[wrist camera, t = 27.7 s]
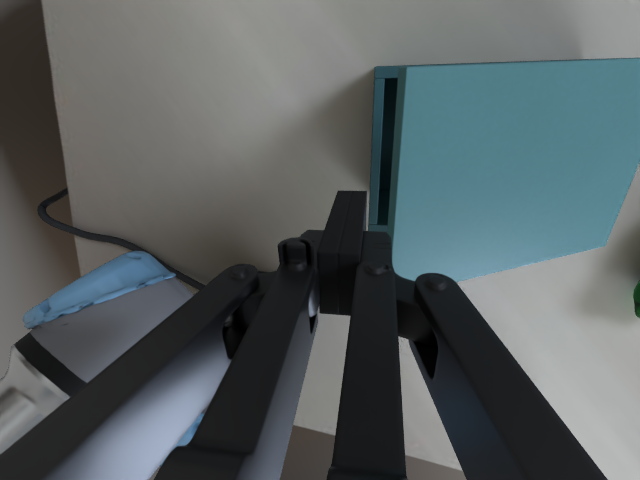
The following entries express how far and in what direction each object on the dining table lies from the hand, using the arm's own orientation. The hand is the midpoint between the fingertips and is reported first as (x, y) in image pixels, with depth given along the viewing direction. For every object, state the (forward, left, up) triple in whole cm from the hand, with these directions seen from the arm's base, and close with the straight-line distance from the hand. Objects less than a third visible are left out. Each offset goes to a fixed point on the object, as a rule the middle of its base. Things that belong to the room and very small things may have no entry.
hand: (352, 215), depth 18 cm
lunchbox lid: (+11, 0, -8) cm, 13 cm away
